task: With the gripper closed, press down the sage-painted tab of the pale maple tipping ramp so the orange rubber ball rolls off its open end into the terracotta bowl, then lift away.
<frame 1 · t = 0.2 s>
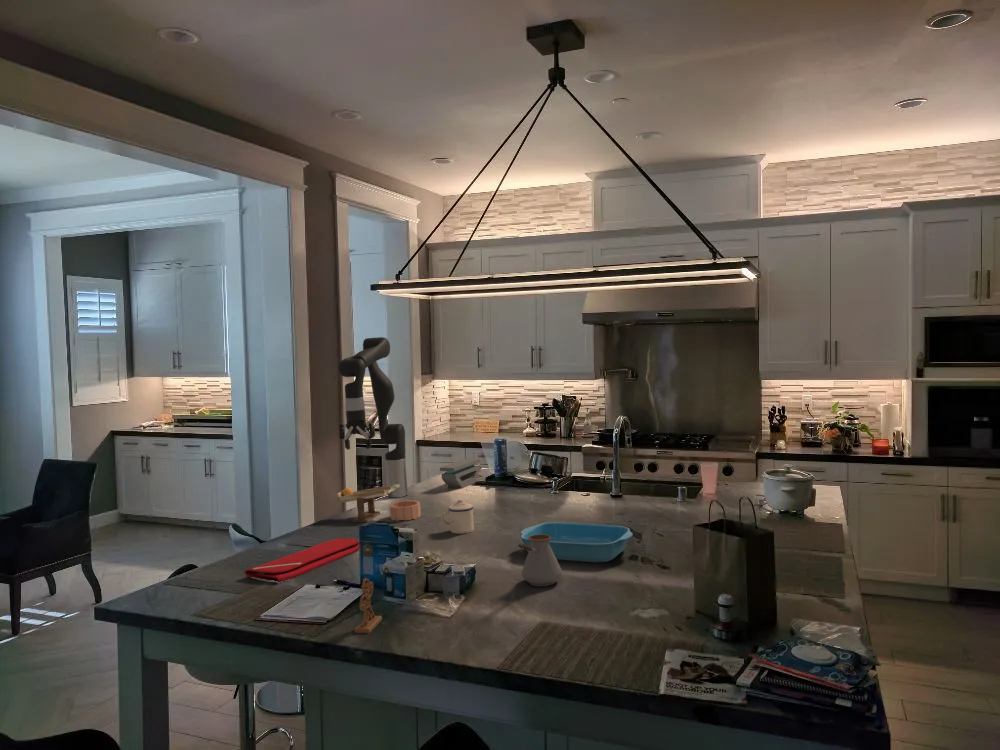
hand: (358, 448, 298), 29 cm above the kitchen island, fingers open, 8 cm apart
ramp: (369, 489, 307), point 10 cm above the kitchen island, hinge at 8.0°, touching ball
coffee pot: (536, 588, 207), on the kitchen island
teacup with lid: (458, 531, 273), on the kitchen island
dish drying mat: (309, 564, 245), on the kitchen island
ball: (347, 492, 303), point 10 cm above the kitchen island, tilted 30°, touching ramp
terracotta bowl: (405, 517, 299), on the kitchen island
casserole dish: (576, 553, 237), on the kitchen island
grey heat sealer: (461, 485, 358), on the kitchen island
ramp stand: (366, 517, 302), on the kitchen island
wooden sculpture: (368, 626, 186), on the kitchen island
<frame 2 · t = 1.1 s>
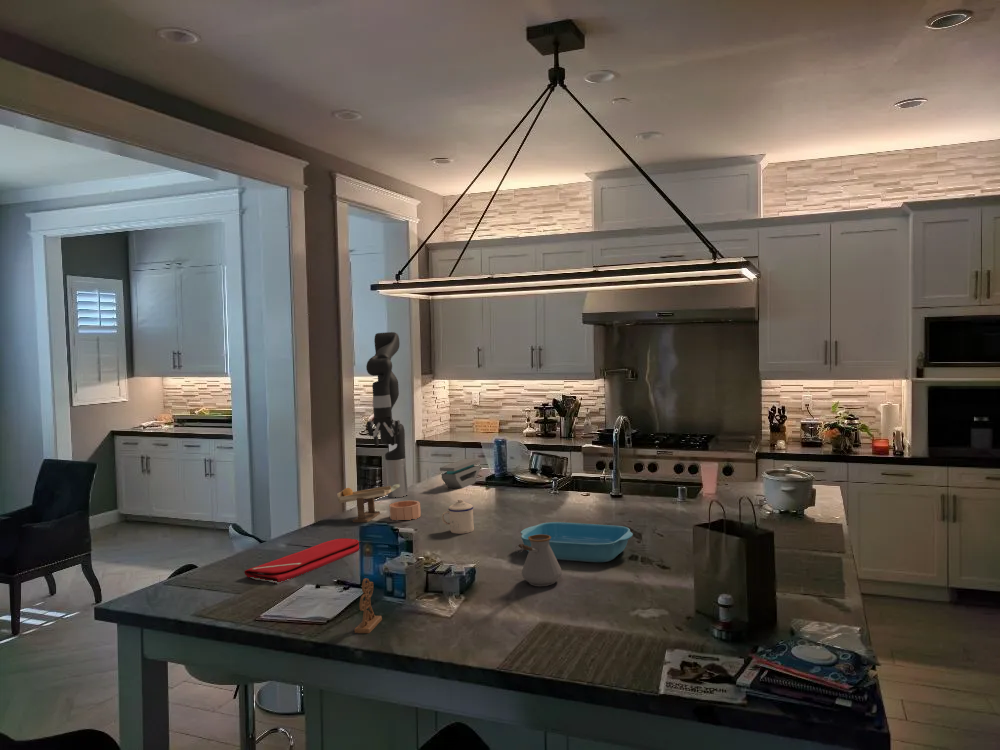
hand: (384, 445, 313), 28 cm above the kitchen island, fingers open, 6 cm apart
nothing on the kitchen island moved.
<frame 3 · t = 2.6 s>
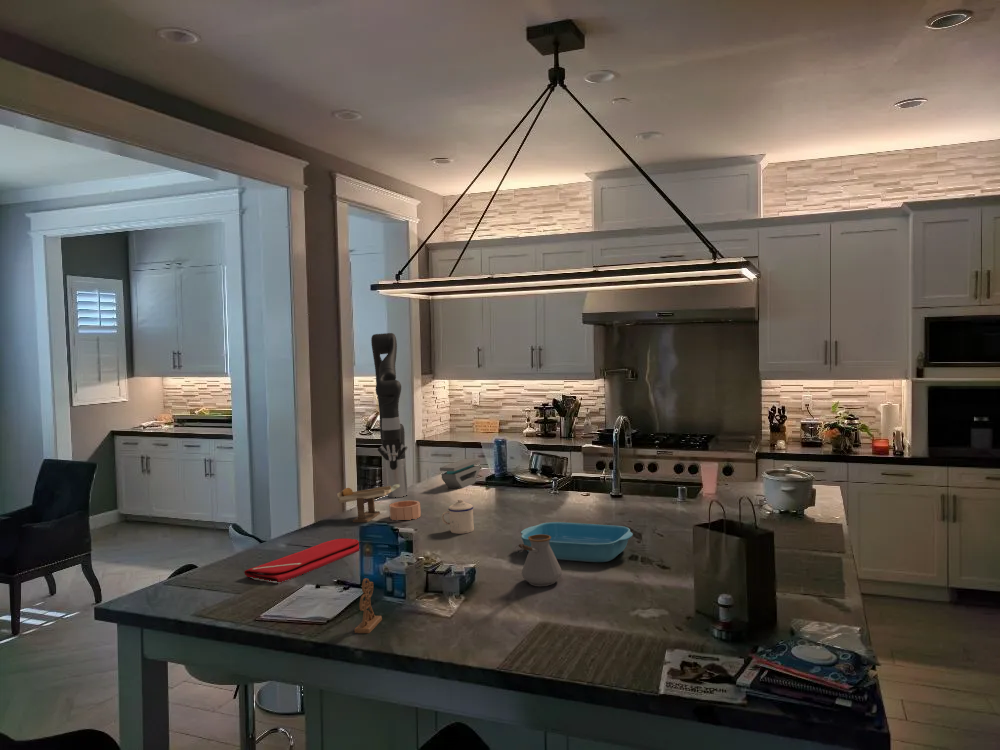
hand: (393, 469, 310), 18 cm above the kitchen island, fingers closed
nothing on the kitchen island moved.
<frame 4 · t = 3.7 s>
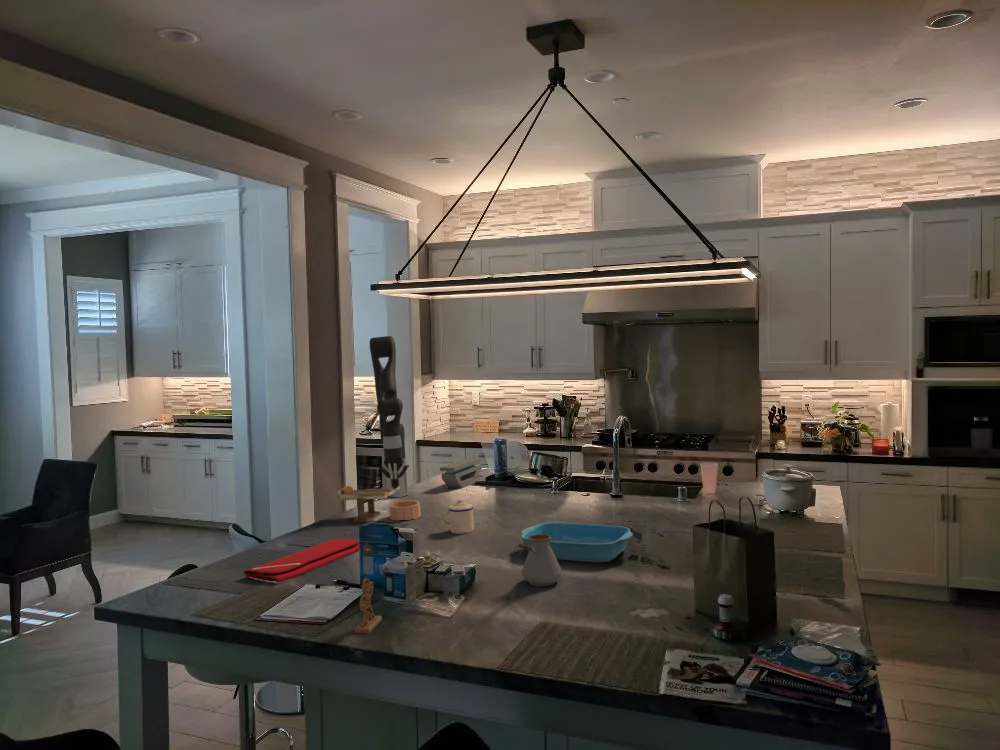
hand: (395, 487, 311), 10 cm above the kitchen island, fingers closed
ramp: (369, 489, 307), point 10 cm above the kitchen island, hinge at 1.9°, touching ball, gripper
ball: (348, 490, 303), point 11 cm above the kitchen island, tilted 24°, touching ramp
everything else where it was.
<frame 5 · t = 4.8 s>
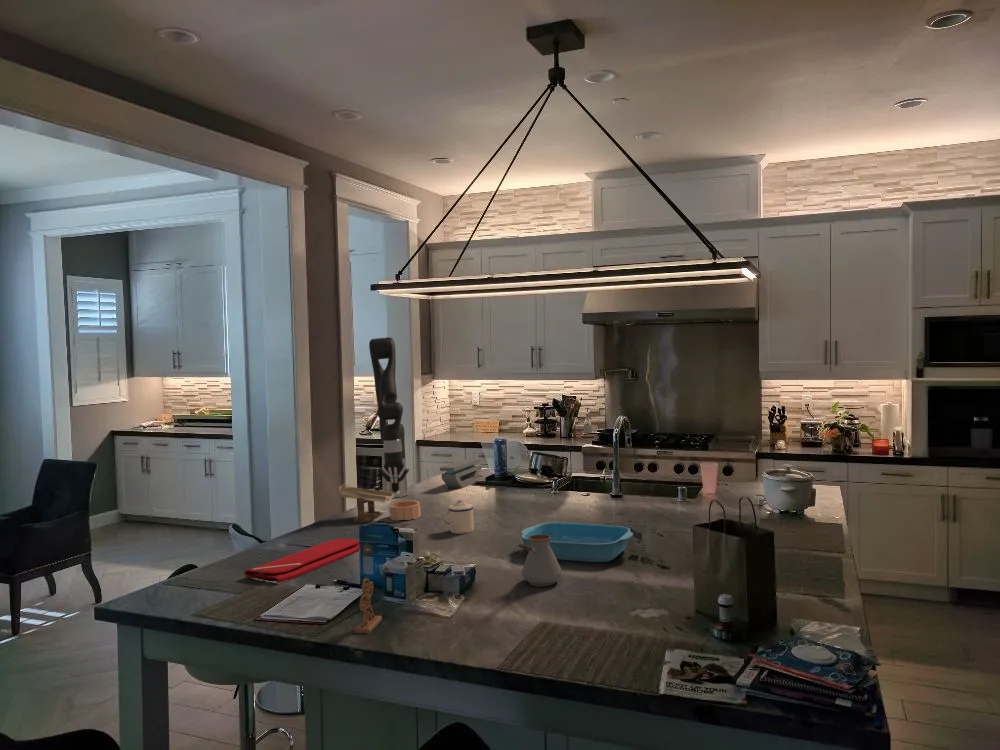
hand: (395, 491, 311), 8 cm above the kitchen island, fingers closed
ramp: (370, 489, 307), point 10 cm above the kitchen island, hinge at -8.5°, touching gripper
ball: (412, 511, 298), point 2 cm above the kitchen island, tilted 44°, touching terracotta bowl
everything else where it was.
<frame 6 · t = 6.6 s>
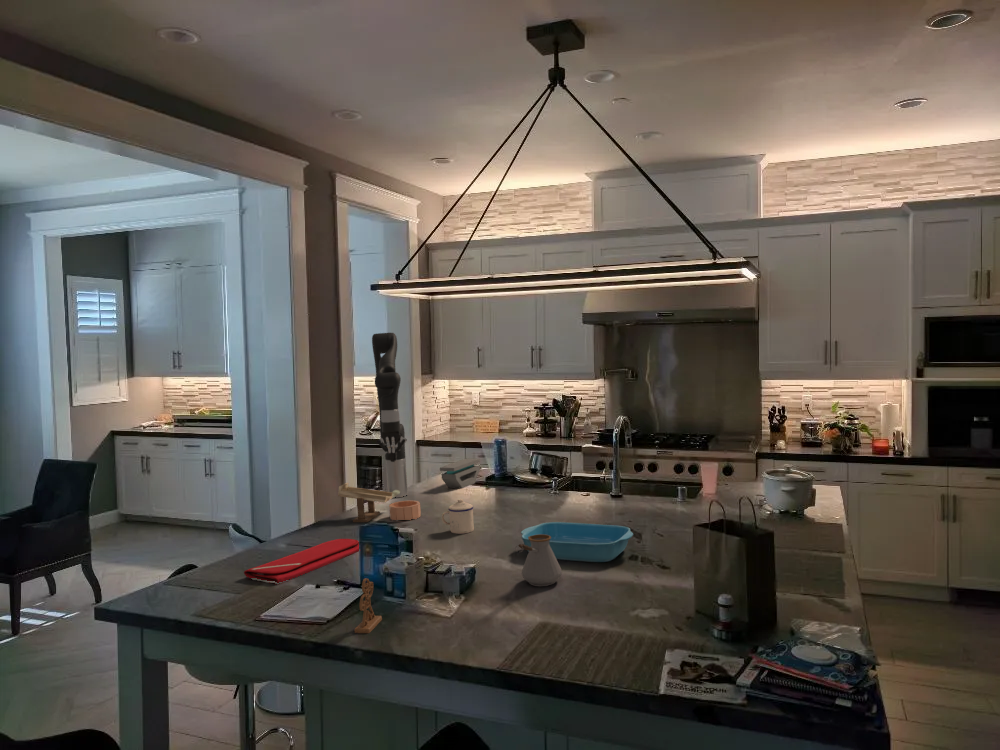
hand: (393, 461, 310), 21 cm above the kitchen island, fingers closed
ramp: (370, 489, 307), point 10 cm above the kitchen island, hinge at -8.5°
everything else where it was.
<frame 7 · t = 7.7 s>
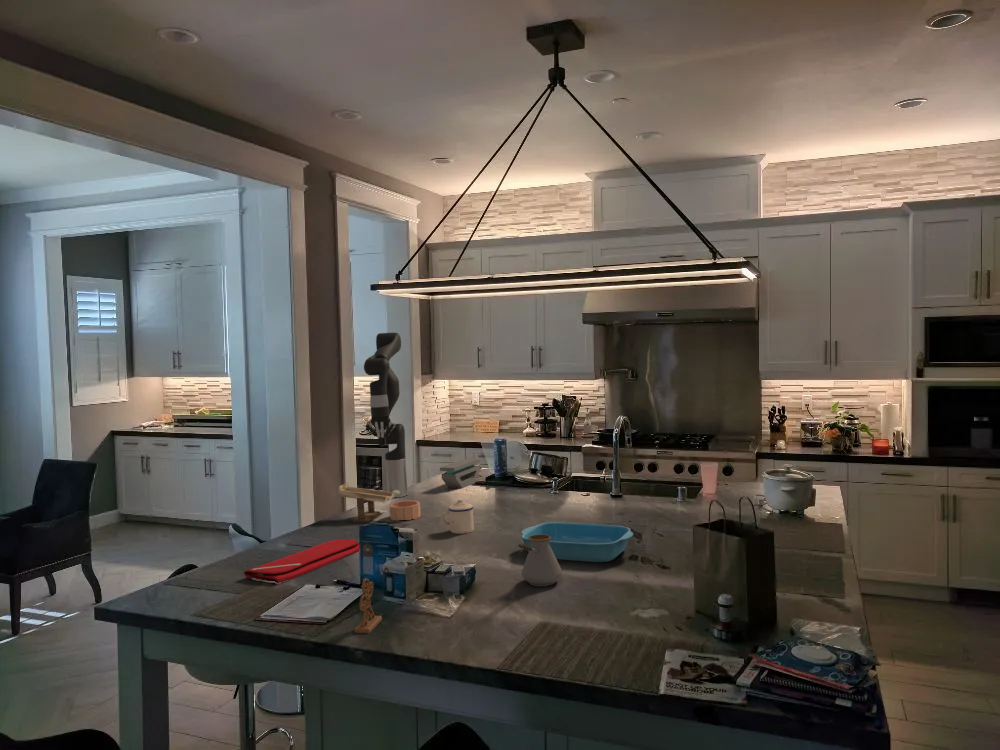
hand: (382, 446, 315), 27 cm above the kitchen island, fingers closed
nothing on the kitchen island moved.
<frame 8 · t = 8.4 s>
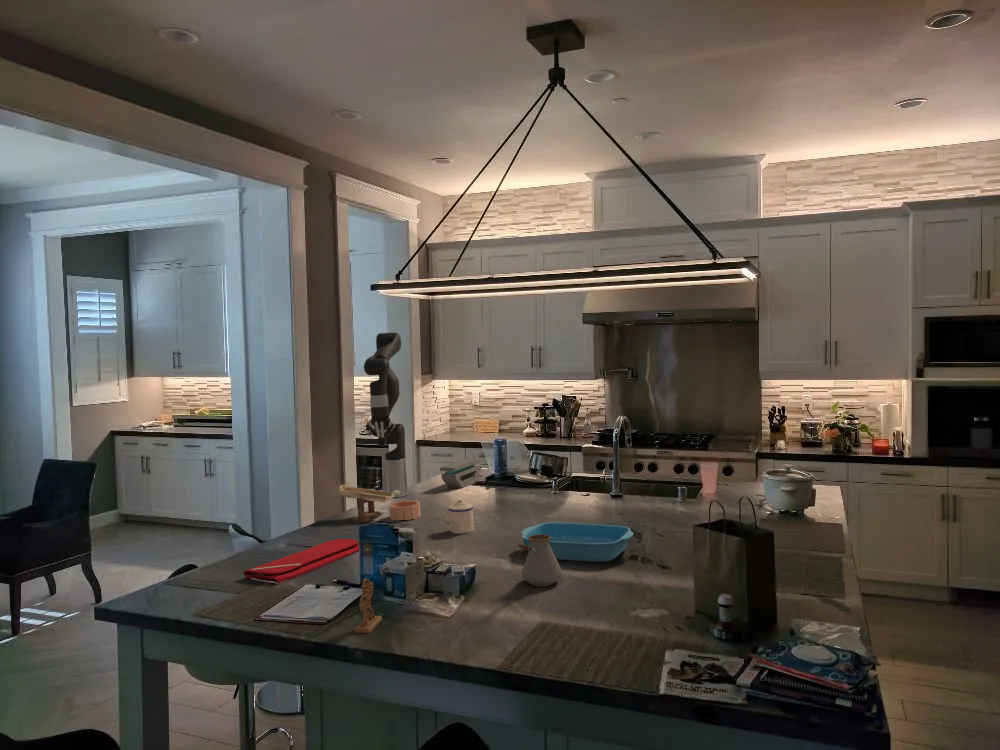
hand: (382, 446, 315), 27 cm above the kitchen island, fingers closed
nothing on the kitchen island moved.
at the end: ball inside the target area on the terracotta bowl (2.8 cm from its centre), point 2.5 cm above the terracotta bowl's base; ramp at -8° (first picture: +8°) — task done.
